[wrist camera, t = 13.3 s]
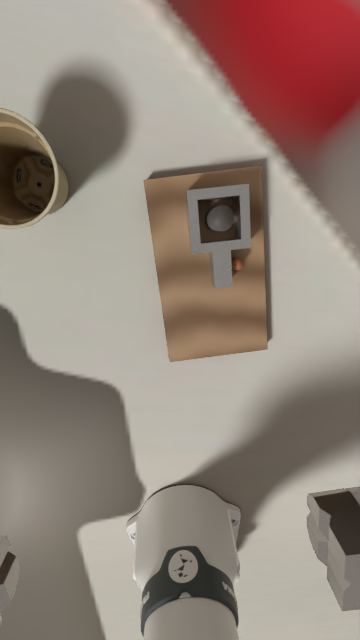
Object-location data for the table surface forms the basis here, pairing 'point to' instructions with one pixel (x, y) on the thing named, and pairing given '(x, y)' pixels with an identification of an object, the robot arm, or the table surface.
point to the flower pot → (27, 173)
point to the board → (208, 267)
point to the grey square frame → (220, 248)
